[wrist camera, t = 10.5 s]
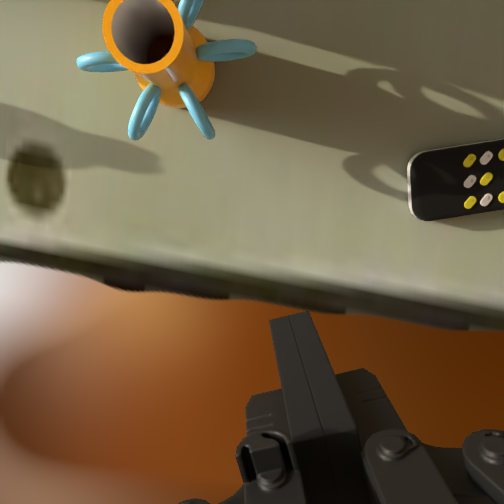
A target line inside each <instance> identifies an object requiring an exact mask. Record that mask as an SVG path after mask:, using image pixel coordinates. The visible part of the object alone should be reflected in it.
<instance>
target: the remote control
mask: <svg viewBox="0 0 504 504" xmlns="http://www.w3.org/2000/svg"><path fill="white" fill-rule="evenodd" d="M407 183H408V202H409V209H410V211H411V213H412V214H413V215H414V216H415V217H416V218H418V219H420V220H424V221H433V220H439V219H445V218H452V217H458V216H464V215H471V214H477V213H483V212H490V211H496V210H502V209H504V138H503V139H497V140H490V141H484V142H478V143H471V144H465V145H459V146H453V147H446V148H440V149H434V150H427V151H422V152H419V153H417V154H415V155H414V156H413V157H412V158H411V159H410V161H409V163H408V166H407Z"/></svg>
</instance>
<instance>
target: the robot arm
mask: <svg viewBox="0 0 504 504" xmlns="http://www.w3.org/2000/svg"><path fill="white" fill-rule="evenodd" d="M269 323H270V328H271V334H272V339H273V344H274V350H275V355H276V360H277V366H278V371H279V376H280V382H281V387H282V389H278V390H274V391H269V392H265V393H261V394H257V395H253V396H251V398H250V400H249V402H248V404H247V406H246V421H247V422H246V428H247V436H246V437H245V438H244V439H243V440H242V441H241V442H240V444H239V445H238V446H237V450H236V454H235V456H236V460H237V463H238V466H239V469H240V473H241V476H242V479H243V482H244V484H243V485H242V487H241V488H240V489H239V490H238V491H237V492H236V493H235V494H234V495H233V496H231V497H230V498H228V499H226V500H225V501H223V502H221V503H219V504H504V431H500V430H487V429H485V430H480V431H477V432H473V433H472V434H470V435H469V436H468V437H466V438H465V440H464V443H463V445H462V448H441V447H434V446H430V445H427V444H424V443H422V442H421V441H420V440H419V439H418V438H417V437H416V436H415V435H413V434H411V433H409V432H408V431H407V430H406V428H405V426H404V425H403V423H402V421H401V419H400V418H399V416H398V414H397V413H396V411H395V409H394V407H393V405H392V404H391V402H390V400H389V399H388V397H387V395H386V393H385V392H384V390H383V388H382V387H381V385H380V383H379V381H378V380H377V378H376V376H375V375H373V374H372V373H370V372H368V371H367V370H366V369H364V368H361V369H357V370H353V371H348V372H344V373H340V374H336V375H335V374H334V371H333V369H332V367H331V364H330V362H329V359H328V357H327V354H326V352H325V350H324V347H323V345H322V342H321V340H320V338H319V336H318V333H317V330H316V328H315V326H314V323H313V321H312V318H311V316H310V314H309V311H305V312H301V313H296V314H292V315H288V316H284V317H280V318H276V319H272V320H269ZM179 504H210V503H208V502H207V501H206V500H202V499H196V498H195V499H190V500H185V501H183V502H181V503H179Z"/></svg>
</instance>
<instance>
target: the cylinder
mask: <svg viewBox="0 0 504 504" xmlns="http://www.w3.org/2000/svg"><path fill="white" fill-rule="evenodd" d="M203 1H204V0H180V3H179V6H178V9H177V7H176V6H175V4H174V3H173V2H172V0H110V2H109V3H108V5H107V7H106V9H105V12H104V16H103V22H102V30H103V37H104V40H105V43H106V46H107V48H108V50H109V51H102V52H93V53H88V54H84V55H82V56H80V57H79V58H78V59H77V66H78V67H79V68H80V69H81V70H84V71H89V72H115V71H124V70H130V71H132V72H133V73H134V74H135V77H136V79H137V81H138V83H139V85H140V86H141V88H142V89H143V90H144V91H143V92H142V94H141V96H140V97H139V99H138V101H137V103H136V105H135V108H134V110H133V113H132V115H131V118H130V122H129V126H128V135H129V137H130V138H131V139H132V140H139V139H140V138H141V137H142V136H143V135H144V133H145V132H146V130H147V129H148V127H149V125H150V123H151V121H152V119H153V117H154V114H155V112H156V110H157V107H158V104H159V103H162V104H164V105H167V106H170V107H174V108H187V109H188V111H189V112H190V114H191V116H192V117H193V119H194V121H195V122H196V124H197V126H198V127H199V129H200V130H201V132H202V133H203V135H204V136H205V137H206V138H207V139H213V138H214V137H215V130H214V128H213V126H212V124H211V122H210V120H209V119H208V117H207V115H206V113H205V111H204V110H203V108H202V106H201V104H200V103H199V102H201V101H202V100H203V99H204V98H205V97H206V96H207V95H208V93H209V92H210V90H211V88H212V86H213V83H214V78H215V63H214V62H215V61H230V60H237V59H242V58H246V57H249V56H252V55H253V54H254V53H255V52H256V45H255V43H254V42H252V41H250V40H244V39H228V40H218V41H212V42H207V41H206V39H205V38H204V36H203V35H202V34H201V33H200V32H199V31H198V30H197V29H196V28H195V27H193V26H192V25H193V23H194V21H195V19H196V17H197V15H198V13H199V11H200V9H201V6H202V4H203Z"/></svg>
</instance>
